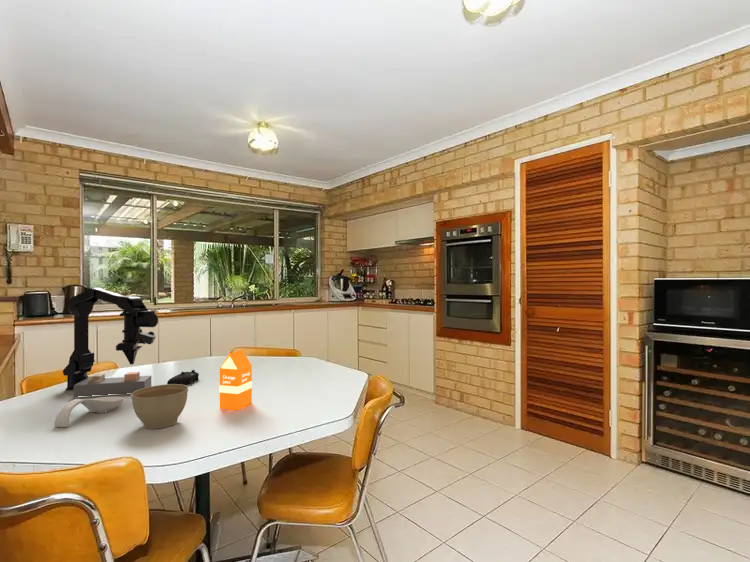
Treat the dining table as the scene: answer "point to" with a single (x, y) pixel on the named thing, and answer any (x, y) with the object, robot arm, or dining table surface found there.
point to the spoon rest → (91, 404)
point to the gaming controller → (184, 378)
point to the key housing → (111, 386)
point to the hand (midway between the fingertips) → (131, 364)
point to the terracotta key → (131, 376)
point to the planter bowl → (159, 404)
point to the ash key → (96, 378)
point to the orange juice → (235, 381)
